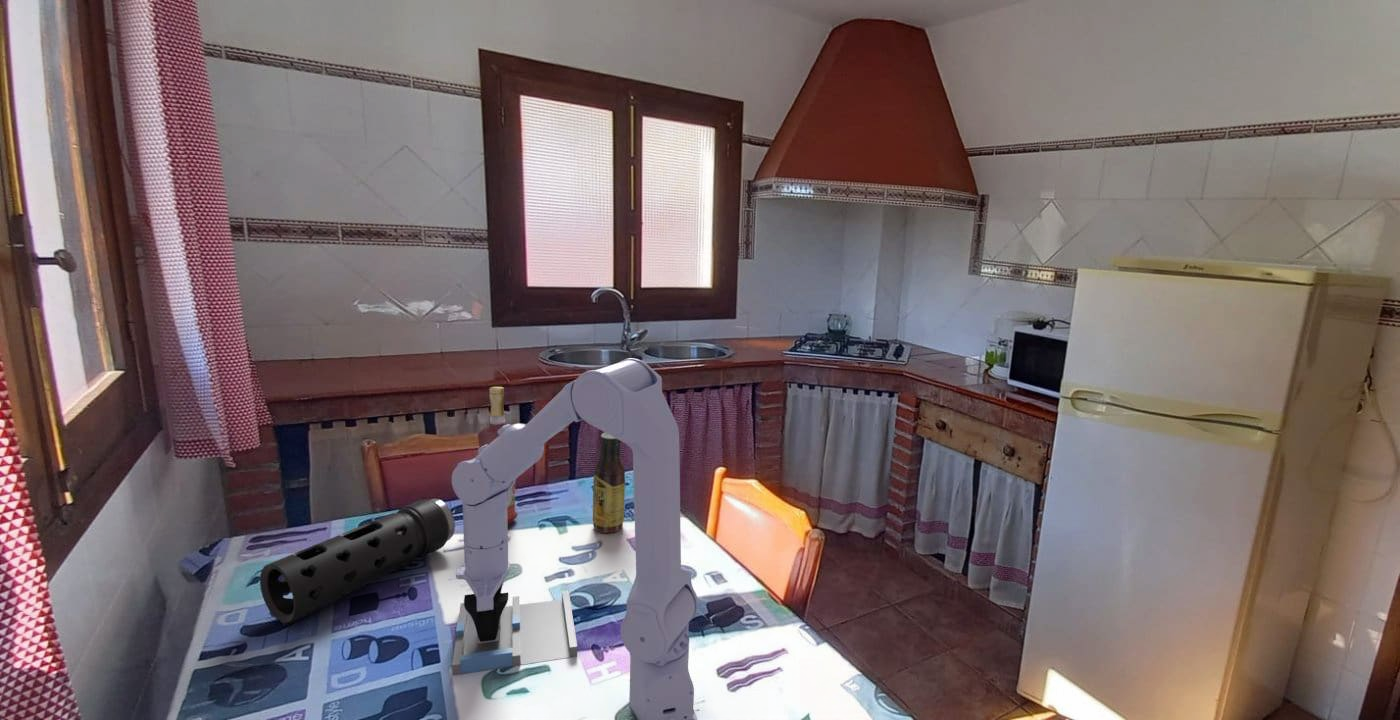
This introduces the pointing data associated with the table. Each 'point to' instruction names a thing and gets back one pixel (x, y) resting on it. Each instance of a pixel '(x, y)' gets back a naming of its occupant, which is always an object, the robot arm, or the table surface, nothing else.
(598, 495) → the sauce bottle
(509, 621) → the board
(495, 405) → the liquor
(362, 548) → the muzzle brake
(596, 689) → the table surface
